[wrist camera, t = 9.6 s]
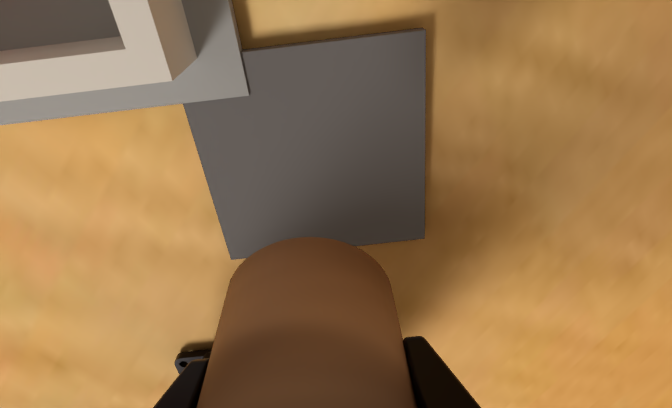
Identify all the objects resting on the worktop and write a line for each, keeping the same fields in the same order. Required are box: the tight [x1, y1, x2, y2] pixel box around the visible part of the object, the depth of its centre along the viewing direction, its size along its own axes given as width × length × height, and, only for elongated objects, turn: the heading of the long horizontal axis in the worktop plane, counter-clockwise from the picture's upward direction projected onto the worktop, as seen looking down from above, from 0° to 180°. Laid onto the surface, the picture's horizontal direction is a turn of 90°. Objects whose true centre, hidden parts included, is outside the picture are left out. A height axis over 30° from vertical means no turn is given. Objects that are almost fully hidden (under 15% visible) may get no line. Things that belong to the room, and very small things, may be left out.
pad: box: [183, 28, 426, 260], centre depth 17 cm, size 9×9×1 cm
